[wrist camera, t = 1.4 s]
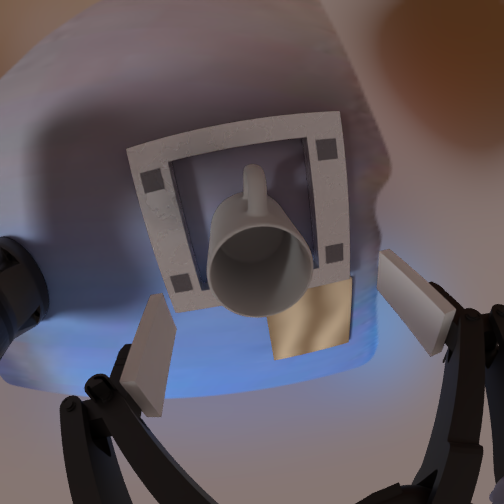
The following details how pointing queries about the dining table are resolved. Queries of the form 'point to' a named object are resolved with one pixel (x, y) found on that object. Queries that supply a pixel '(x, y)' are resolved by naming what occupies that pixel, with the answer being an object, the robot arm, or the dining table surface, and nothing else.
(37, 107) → the dining table surface
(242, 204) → the mug
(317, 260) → the grey square frame
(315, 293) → the coaster
